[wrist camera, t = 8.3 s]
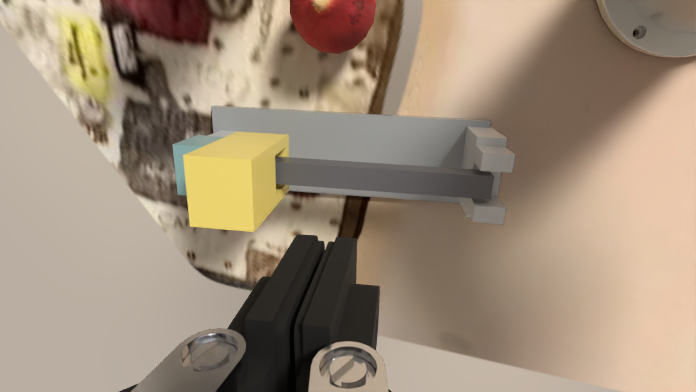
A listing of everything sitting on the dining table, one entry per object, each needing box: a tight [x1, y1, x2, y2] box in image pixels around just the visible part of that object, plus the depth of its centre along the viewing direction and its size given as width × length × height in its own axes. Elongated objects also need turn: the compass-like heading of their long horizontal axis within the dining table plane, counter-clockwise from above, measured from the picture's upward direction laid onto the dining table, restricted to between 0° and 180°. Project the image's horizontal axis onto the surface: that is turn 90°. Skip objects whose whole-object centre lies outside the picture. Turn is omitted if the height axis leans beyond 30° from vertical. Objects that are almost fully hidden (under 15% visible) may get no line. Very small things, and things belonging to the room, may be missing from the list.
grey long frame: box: [173, 106, 515, 225], centre depth 31 cm, size 23×7×8 cm, turn 88°
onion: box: [290, 0, 376, 54], centre depth 27 cm, size 6×6×8 cm
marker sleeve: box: [183, 131, 289, 232], centre depth 27 cm, size 4×4×8 cm
